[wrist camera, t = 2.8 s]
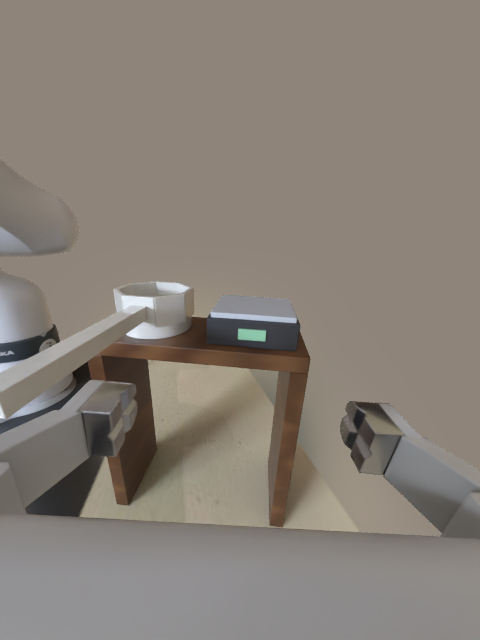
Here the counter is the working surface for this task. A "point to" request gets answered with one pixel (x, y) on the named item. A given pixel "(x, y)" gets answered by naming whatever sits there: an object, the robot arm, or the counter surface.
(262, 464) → the counter surface
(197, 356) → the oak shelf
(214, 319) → the kitchen scale
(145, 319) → the scoop bowl
